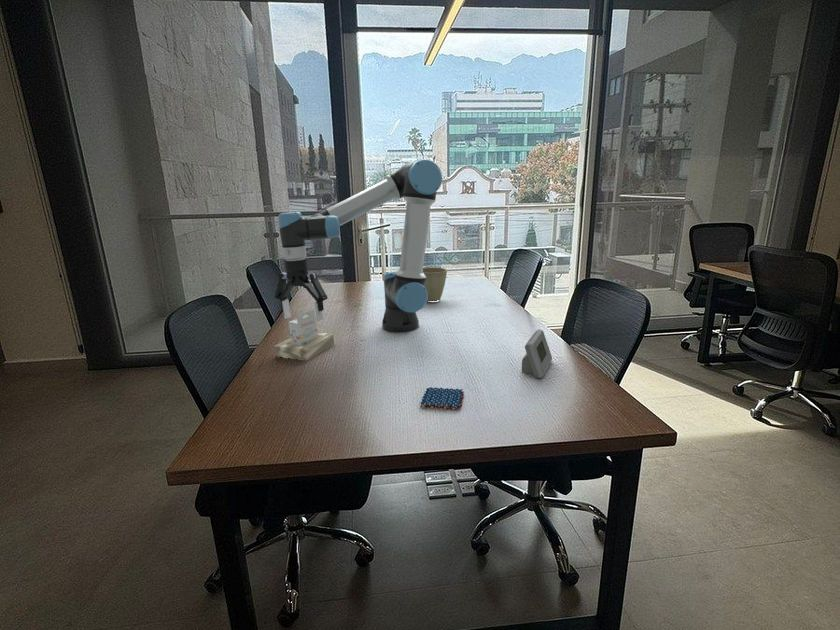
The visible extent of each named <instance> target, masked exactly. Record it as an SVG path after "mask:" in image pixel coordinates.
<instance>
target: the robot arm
mask: <svg viewBox="0 0 840 630" xmlns="http://www.w3.org/2000/svg"><path fill="white" fill-rule="evenodd" d="M442 182H443V173H442V170H441V167H440V166H439V165H438V164H437V163H436V162H435V161H433V160H431V159H428V158H419V159H416V160H412V161H409V162H407V163H405V164H404V165H402V166H400V167H399V168H398V169H396V170H395V171H393V172H391V173H389V174H388V175H386V176H385V179H383V180H382V181H379V182H378V183H376V184H374V185H372V186H369V187H368V188H366V189H365V188H364V189H363V190H362V191H360V192H357V193H355V194H353V195H352V196H350V197H348V198H346V199H344V200H342V201H340V202H338V203H335V204H334V205H332V206H330V207H328V208H325V209H324V210H322V211H320V212H317V213H315V214H314V213H313V214H312V215H310V216H308V217H304V216H303V215H302V213H301V211H288V212H281V213H279V215H278V228H279V235H280V241H281V247H282V255H283V259H284V269H285V271H286V272H285V271H283V272H280V273H279V274H278V278H279V280H278V283H277V287H276V291H275V294H274V298H275V299H277V300H279V301H280V305H281V307H280V308H281V310H282V311H283V316H284V317H283V318H284V319H285V320H287V319H289V318H291V317H292V315H291V309H290V307H291V306H290V301H289V300H290V299H288V296H289V295H290V292H291V291H292V289H293V287H303V288H304V289H305V290H306V291H307V292H308V293H309V294H310V296H311V297H312V298H313V299H314V300H315V302H314V308H315V309H314V311H315V318H316V322H319V321H321V320H324V314H323V311H324V308H325V307H324V301H325V300H328V299H329V298H328V295H327V293H326V292H325V290H324V288H323V286H322V284H321V283H320V281H319V279H318V275H317V272H313V273H309V272H308V271H309V265H308V259H307V258H306V257H307V256H308V255H307V250H306V248H307V247H306V243H305V241H310V240H323V239H325V240H326V239H329V240H330V239H334V238H339V236H340V233H341V230H340V227H341V226H342V225H345V224H347V223H349V222H350V221H352V220H355V219H356V218H359V217H360V216H363V215H364V214H367V213H369V212H370V211H373V210H374V209H376V208H378V207H380V206H382V205H383V204H386V203H388V202H390V201H392V200H394V199H396V200H399V199H401V198H402V199H404V201H405V202H406V205H405V217H404V226H403V236H402V243H401V244H402V246H401V255H400V262H399V263H400V264H399V269H398V270H397V271H390V272H385V273H384V275H383V281H382V282H383V289H384V304H385V306H384V307H385V310H384V312H383V313H384V314H383V317H382V321H381V325H382V326H381V327H382V329H383V330H385V331H387V332H394V333H395V332H396V333H397V332H399V333H400V332H401V333H404V332H410V331H413V330H416V329H418V327H419V325H420V323H419V322H420V321H419V318H418V315H417V312H418V311H421V310H423V308H424V307H425V305H426V304H427V303H428V302H427V299H428V293H427V290H426V288H425V283H426V276H425V274H424V273H423V268H424V266H425V265H424V264H425V256H426V255H425V254H426V245H427V237H428V231H429V222H430V221H429V220H430V213H431V206H432V205H433V204H434V203H435V202H436V201H437V200H436V198H437V193H438V191H439V189H440V188H441V185H442ZM287 280H288V281H287ZM286 282H287V283H286Z"/></svg>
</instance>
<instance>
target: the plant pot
mask: <svg viewBox="0 0 840 630" xmlns="http://www.w3.org/2000/svg"><path fill="white" fill-rule="evenodd" d="M447 271H448V270H447V268H443V267H423V273H424V274H425V276H426V283H425V288H426V290H427V293H428V299H427V301H437V300H440V301H441V298H442V296H443V292H444V288H445V284H446V280H447V273H448V272H447Z"/></svg>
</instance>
